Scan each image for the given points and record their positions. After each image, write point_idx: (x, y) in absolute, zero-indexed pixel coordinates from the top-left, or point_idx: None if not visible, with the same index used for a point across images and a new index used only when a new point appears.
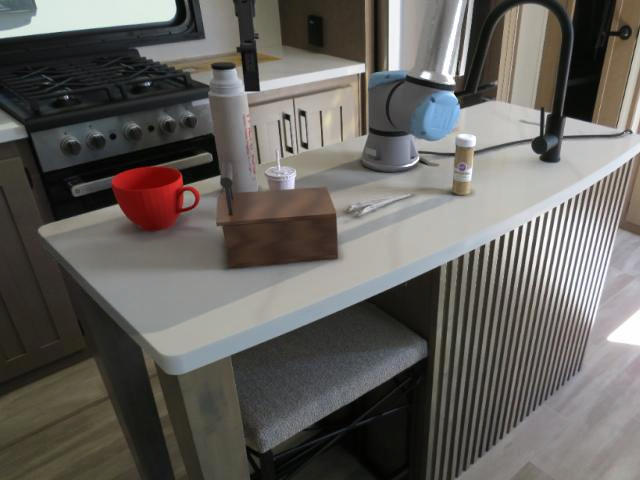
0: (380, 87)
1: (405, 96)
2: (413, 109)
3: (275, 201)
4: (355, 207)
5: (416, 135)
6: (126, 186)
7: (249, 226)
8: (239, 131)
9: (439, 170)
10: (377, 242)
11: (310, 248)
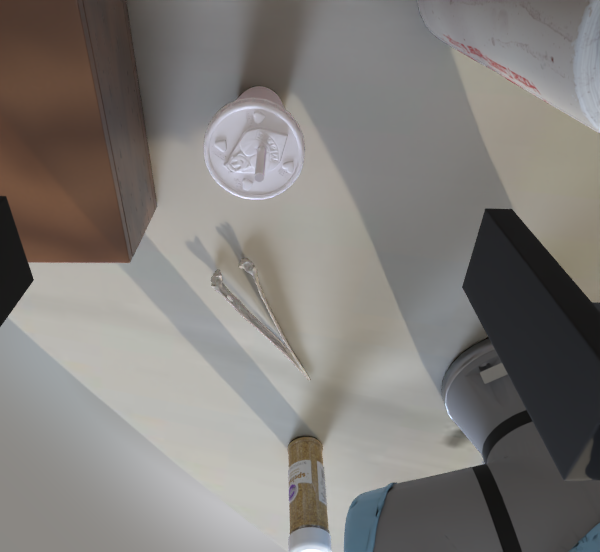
0: (566, 541)
1: None
2: (381, 549)
3: (5, 117)
4: (253, 277)
5: (380, 489)
6: None
7: None
8: (495, 40)
9: (423, 441)
10: (89, 285)
11: None
